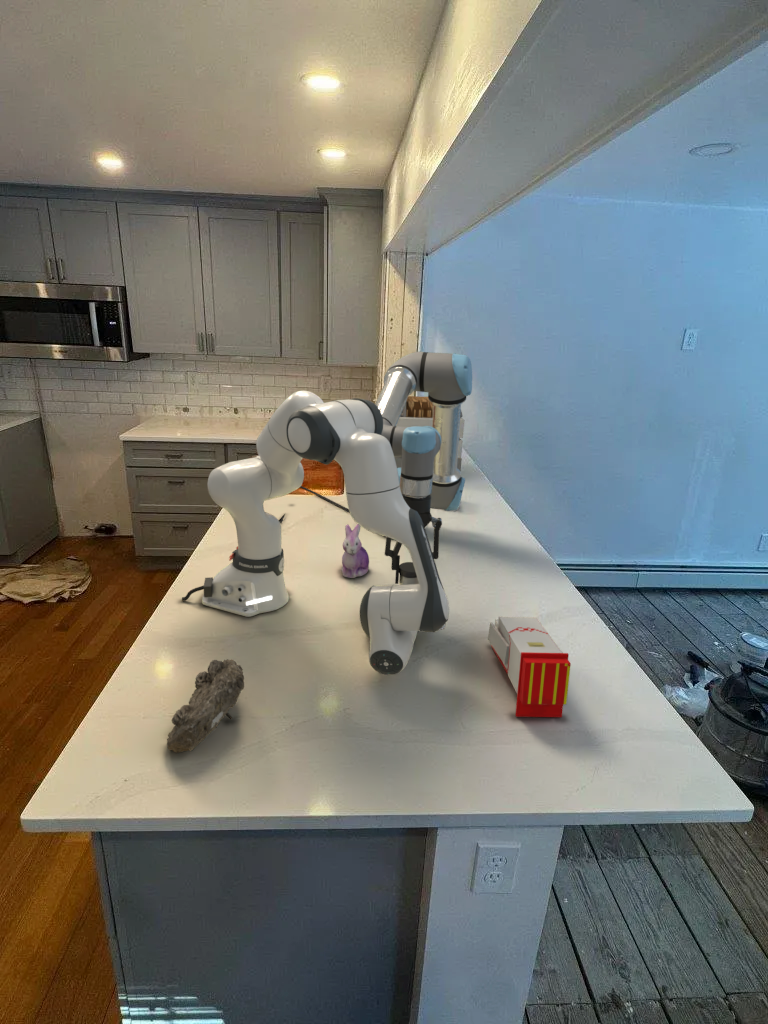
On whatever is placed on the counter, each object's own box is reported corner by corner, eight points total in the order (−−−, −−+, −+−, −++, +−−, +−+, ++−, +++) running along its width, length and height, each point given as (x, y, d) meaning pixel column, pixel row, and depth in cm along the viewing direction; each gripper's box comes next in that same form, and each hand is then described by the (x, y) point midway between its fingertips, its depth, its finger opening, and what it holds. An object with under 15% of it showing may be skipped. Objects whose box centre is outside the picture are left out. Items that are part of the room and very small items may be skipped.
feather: (292, 507, 224) (294, 503, 223) (275, 531, 197) (278, 527, 197) (288, 505, 224) (291, 501, 223) (271, 528, 197) (273, 524, 197)
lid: (396, 576, 138) (396, 570, 137) (401, 566, 143) (401, 560, 143) (419, 579, 137) (420, 573, 136) (424, 569, 142) (424, 563, 142)
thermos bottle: (394, 623, 143) (397, 571, 138) (400, 613, 148) (403, 562, 143) (414, 627, 142) (418, 574, 137) (419, 617, 146) (423, 565, 141)
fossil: (192, 660, 117) (244, 628, 112) (224, 691, 120) (276, 661, 115) (142, 746, 98) (202, 712, 93) (182, 779, 101) (242, 748, 96)
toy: (534, 602, 136) (579, 659, 107) (529, 653, 139) (572, 723, 110) (484, 601, 136) (516, 658, 107) (480, 652, 139) (510, 722, 109)
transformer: (382, 463, 289) (386, 382, 275) (445, 464, 293) (451, 384, 279) (390, 482, 257) (394, 392, 243) (460, 483, 261) (468, 394, 247)
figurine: (347, 581, 163) (348, 533, 158) (333, 567, 172) (334, 521, 166) (376, 576, 167) (378, 528, 162) (361, 562, 176) (363, 517, 171)
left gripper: (445, 619, 128) (451, 591, 140) (357, 606, 131) (370, 580, 144) (443, 643, 130) (449, 613, 143) (356, 630, 133) (369, 602, 146)
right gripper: (454, 491, 136) (446, 577, 144) (376, 486, 137) (373, 573, 145) (456, 501, 129) (448, 591, 137) (374, 496, 130) (371, 586, 138)
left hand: (409, 596), depth 143 cm, fingers closed on thermos bottle, 5 cm apart
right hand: (409, 582), depth 141 cm, fingers closed on lid, 6 cm apart
